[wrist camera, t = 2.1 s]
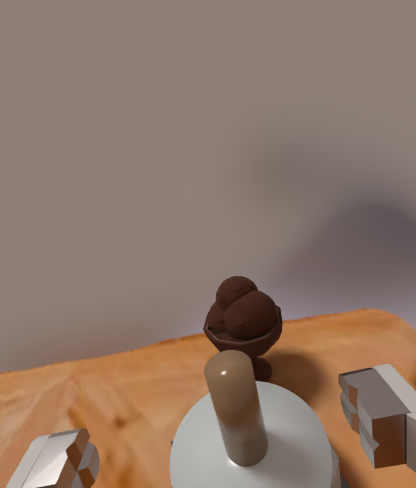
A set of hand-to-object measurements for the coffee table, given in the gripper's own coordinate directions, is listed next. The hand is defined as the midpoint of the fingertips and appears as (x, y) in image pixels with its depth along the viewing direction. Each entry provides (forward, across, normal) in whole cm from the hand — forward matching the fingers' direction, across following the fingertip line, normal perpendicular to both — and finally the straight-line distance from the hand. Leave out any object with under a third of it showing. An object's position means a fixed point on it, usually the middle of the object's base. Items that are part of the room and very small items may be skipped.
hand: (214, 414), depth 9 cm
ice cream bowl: (+27, -2, +24) cm, 36 cm away
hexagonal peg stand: (+12, 0, +24) cm, 27 cm away
